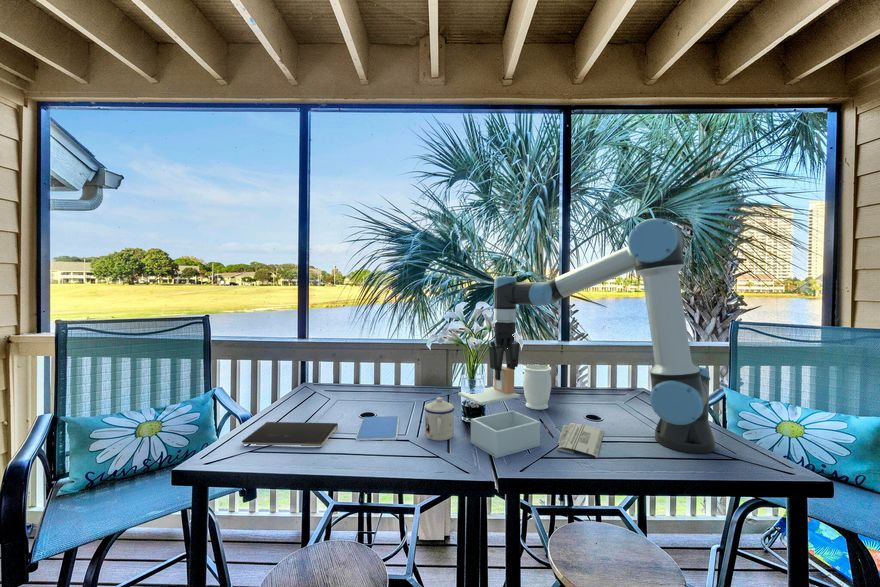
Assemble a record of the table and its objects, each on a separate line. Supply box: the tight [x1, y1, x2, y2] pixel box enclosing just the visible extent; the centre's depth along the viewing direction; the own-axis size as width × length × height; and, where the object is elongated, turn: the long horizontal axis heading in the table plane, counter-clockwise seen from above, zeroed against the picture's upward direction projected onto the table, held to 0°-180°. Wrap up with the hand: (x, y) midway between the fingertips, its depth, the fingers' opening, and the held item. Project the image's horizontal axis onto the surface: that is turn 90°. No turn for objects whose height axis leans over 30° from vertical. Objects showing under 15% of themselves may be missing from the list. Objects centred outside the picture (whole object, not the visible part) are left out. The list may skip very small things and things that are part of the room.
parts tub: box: [470, 409, 541, 459], centre depth 117 cm, size 12×16×7 cm
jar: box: [522, 364, 552, 411], centre depth 152 cm, size 11×10×15 cm
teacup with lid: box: [424, 396, 455, 442], centre depth 122 cm, size 12×9×12 cm
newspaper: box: [556, 422, 605, 459], centre depth 120 cm, size 23×12×2 cm, turn 153°
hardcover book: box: [241, 421, 339, 447], centre depth 123 cm, size 16×23×2 cm
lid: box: [457, 365, 521, 406], centre depth 137 cm, size 13×17×9 cm
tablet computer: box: [354, 415, 400, 441], centre depth 129 cm, size 19×13×1 cm, turn 3°
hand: (503, 388), depth 140 cm, fingers closed on lid, 3 cm apart
